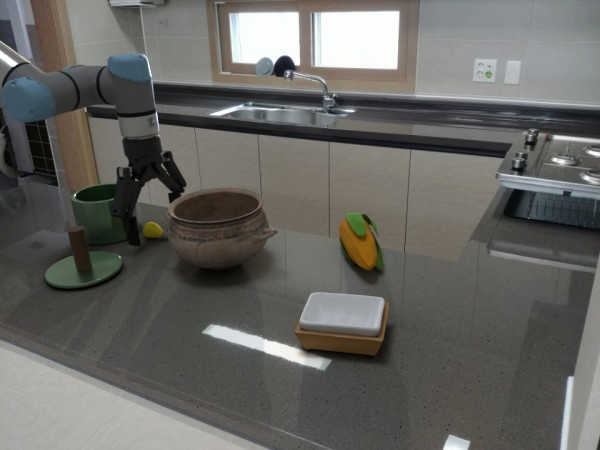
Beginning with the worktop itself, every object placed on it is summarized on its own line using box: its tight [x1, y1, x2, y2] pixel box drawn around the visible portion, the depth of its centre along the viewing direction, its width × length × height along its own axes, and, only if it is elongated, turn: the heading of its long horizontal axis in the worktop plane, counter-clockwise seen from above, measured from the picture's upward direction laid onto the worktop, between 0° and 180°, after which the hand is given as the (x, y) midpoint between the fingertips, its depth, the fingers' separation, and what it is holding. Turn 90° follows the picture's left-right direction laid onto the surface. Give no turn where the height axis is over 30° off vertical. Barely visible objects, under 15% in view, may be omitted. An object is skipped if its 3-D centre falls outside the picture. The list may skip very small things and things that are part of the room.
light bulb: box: [142, 221, 169, 240], centre depth 115 cm, size 3×6×4 cm, turn 72°
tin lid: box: [44, 225, 123, 289], centre depth 100 cm, size 14×14×9 cm
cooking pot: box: [164, 187, 278, 272], centre depth 101 cm, size 25×19×12 cm
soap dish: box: [294, 291, 390, 357], centre depth 79 cm, size 12×10×5 cm
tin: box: [70, 182, 140, 246], centre depth 117 cm, size 13×13×10 cm
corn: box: [338, 212, 384, 271], centre depth 101 cm, size 7×8×20 cm
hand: (157, 232), depth 115 cm, fingers open, 13 cm apart
